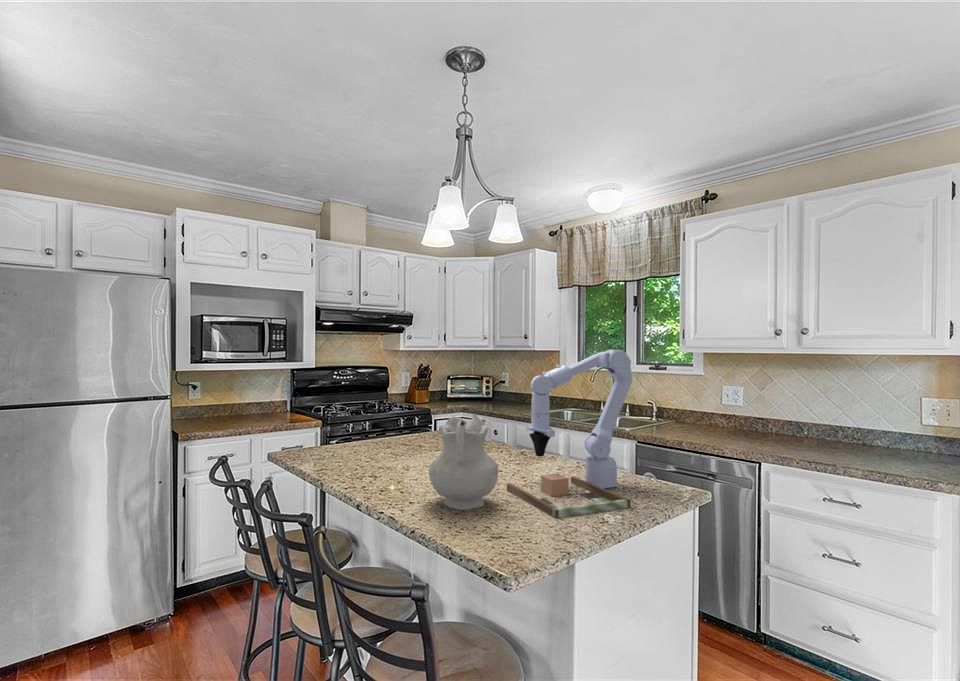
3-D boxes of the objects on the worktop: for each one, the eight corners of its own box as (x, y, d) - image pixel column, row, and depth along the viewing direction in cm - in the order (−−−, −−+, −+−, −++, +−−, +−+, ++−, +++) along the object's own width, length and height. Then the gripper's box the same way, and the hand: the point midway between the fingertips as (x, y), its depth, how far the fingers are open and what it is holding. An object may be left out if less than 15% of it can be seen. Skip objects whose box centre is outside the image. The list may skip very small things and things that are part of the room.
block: (557, 489, 162) (557, 473, 162) (568, 494, 156) (568, 478, 157) (540, 491, 160) (541, 475, 160) (551, 497, 154) (551, 480, 154)
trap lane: (573, 482, 170) (573, 476, 170) (630, 507, 145) (630, 500, 145) (506, 489, 161) (506, 483, 161) (554, 518, 135) (554, 510, 135)
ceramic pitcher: (503, 520, 136) (511, 424, 137) (428, 517, 133) (437, 419, 133) (488, 496, 157) (495, 414, 158) (424, 493, 154) (431, 409, 155)
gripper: (518, 411, 172) (518, 452, 171) (541, 416, 158) (540, 461, 158) (537, 410, 174) (537, 450, 174) (560, 415, 161) (560, 459, 161)
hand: (539, 455), depth 166 cm, fingers closed
